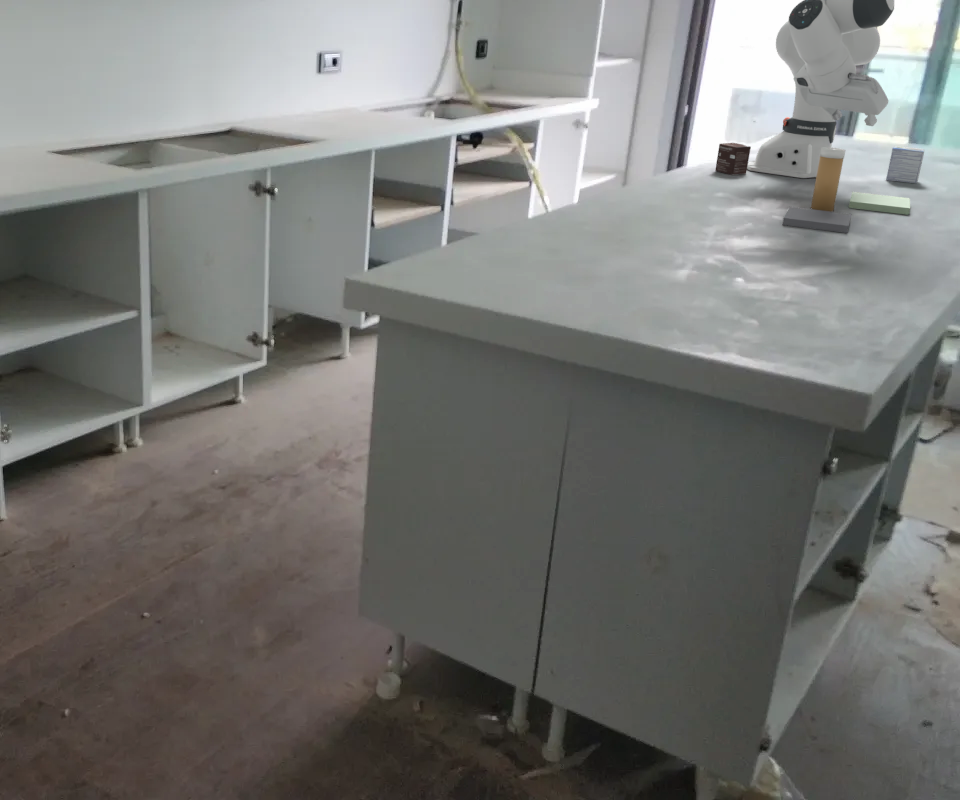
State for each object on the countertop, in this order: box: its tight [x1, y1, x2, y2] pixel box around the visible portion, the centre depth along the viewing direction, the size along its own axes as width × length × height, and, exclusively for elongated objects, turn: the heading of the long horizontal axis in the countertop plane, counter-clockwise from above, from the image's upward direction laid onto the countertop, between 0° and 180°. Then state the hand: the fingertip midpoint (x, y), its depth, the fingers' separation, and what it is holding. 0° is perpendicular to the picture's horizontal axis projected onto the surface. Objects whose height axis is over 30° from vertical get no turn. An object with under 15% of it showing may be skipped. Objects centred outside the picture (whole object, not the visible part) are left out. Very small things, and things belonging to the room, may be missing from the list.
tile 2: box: [848, 191, 911, 216], centre depth 227 cm, size 13×13×2 cm
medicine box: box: [885, 145, 925, 184], centre depth 259 cm, size 8×4×9 cm, turn 65°
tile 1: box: [782, 206, 852, 234], centre depth 207 cm, size 13×13×2 cm
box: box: [715, 142, 752, 176], centre depth 259 cm, size 6×6×7 cm
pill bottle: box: [810, 146, 846, 212], centre depth 218 cm, size 5×5×13 cm
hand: (854, 120), depth 211 cm, fingers open, 8 cm apart
